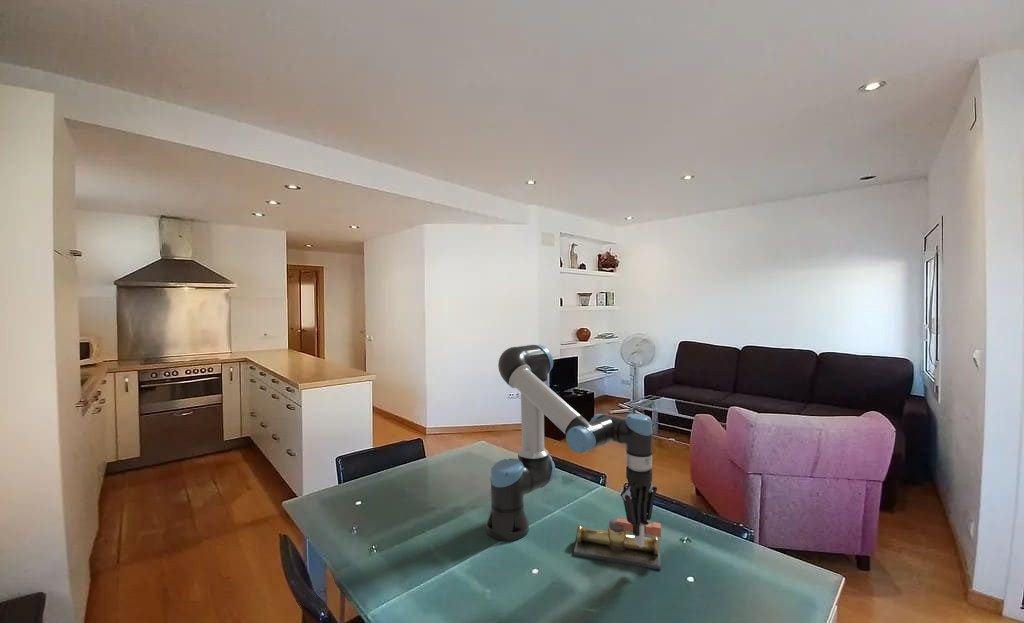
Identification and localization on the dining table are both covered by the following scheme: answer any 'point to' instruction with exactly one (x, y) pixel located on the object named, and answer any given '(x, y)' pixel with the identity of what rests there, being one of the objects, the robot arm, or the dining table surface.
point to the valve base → (618, 555)
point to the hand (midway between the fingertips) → (639, 544)
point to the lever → (625, 525)
